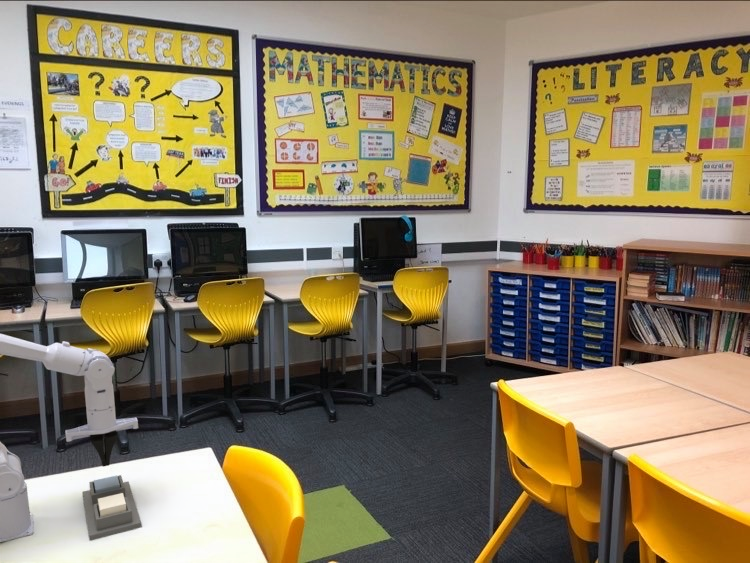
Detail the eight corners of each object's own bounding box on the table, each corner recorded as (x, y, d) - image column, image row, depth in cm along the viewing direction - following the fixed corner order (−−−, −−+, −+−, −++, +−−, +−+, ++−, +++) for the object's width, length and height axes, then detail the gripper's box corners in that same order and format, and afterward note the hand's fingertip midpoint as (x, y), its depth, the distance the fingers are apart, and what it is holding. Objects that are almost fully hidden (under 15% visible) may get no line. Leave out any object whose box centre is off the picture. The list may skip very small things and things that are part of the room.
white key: (100, 518, 128) (99, 509, 128) (98, 507, 132) (97, 498, 132) (126, 512, 130) (125, 503, 130) (123, 501, 135) (122, 492, 134)
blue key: (96, 498, 138) (95, 490, 137) (94, 488, 142) (93, 480, 142) (120, 492, 140) (119, 484, 140) (117, 483, 144) (117, 475, 144)
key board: (89, 540, 126) (88, 524, 125) (82, 495, 143) (81, 481, 142) (141, 526, 130) (140, 511, 130) (128, 485, 148) (127, 471, 147)
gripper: (132, 394, 143) (137, 449, 145) (62, 406, 136) (68, 464, 138) (137, 404, 136) (142, 462, 139) (64, 417, 129) (70, 477, 132)
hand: (105, 464), depth 138 cm, fingers closed
